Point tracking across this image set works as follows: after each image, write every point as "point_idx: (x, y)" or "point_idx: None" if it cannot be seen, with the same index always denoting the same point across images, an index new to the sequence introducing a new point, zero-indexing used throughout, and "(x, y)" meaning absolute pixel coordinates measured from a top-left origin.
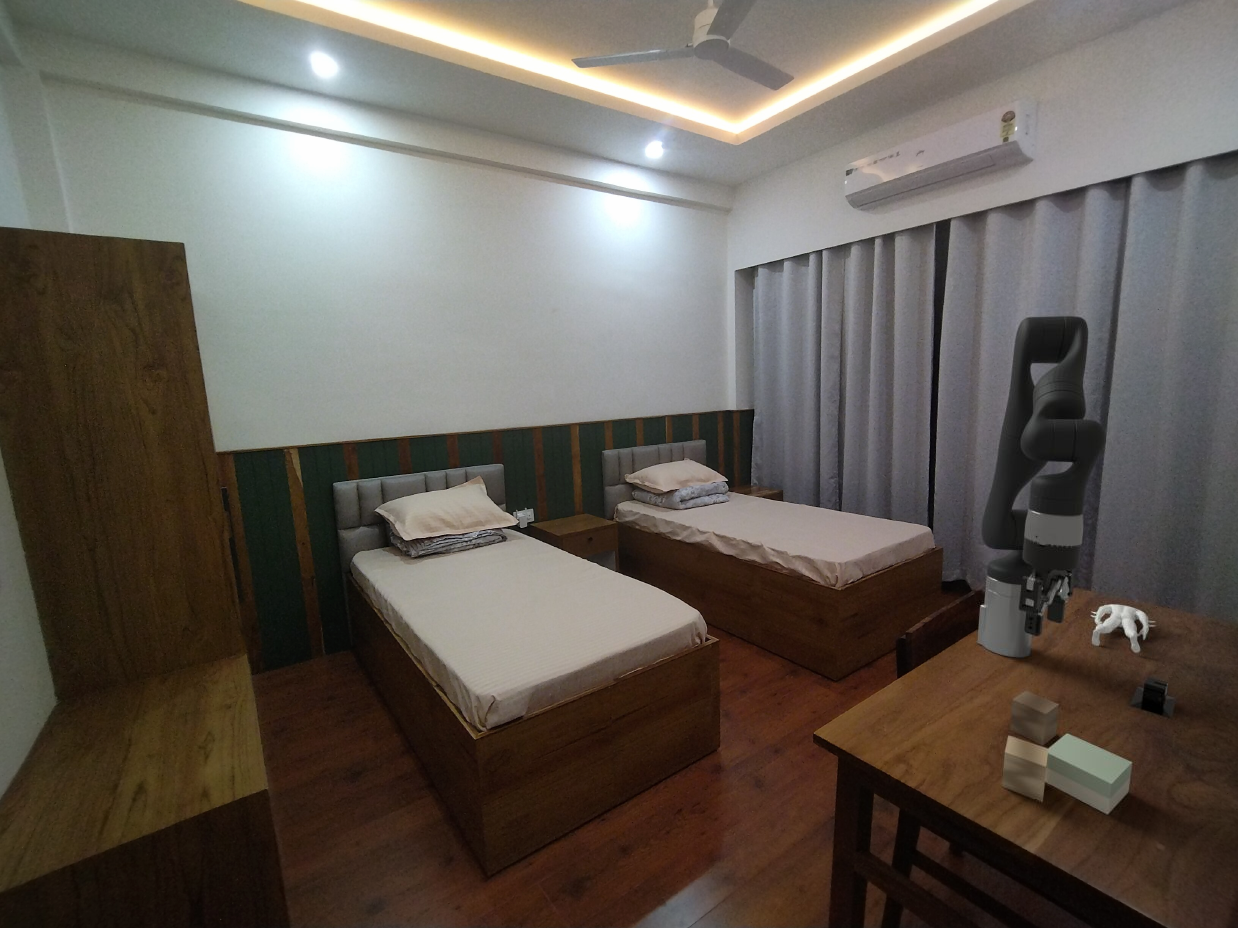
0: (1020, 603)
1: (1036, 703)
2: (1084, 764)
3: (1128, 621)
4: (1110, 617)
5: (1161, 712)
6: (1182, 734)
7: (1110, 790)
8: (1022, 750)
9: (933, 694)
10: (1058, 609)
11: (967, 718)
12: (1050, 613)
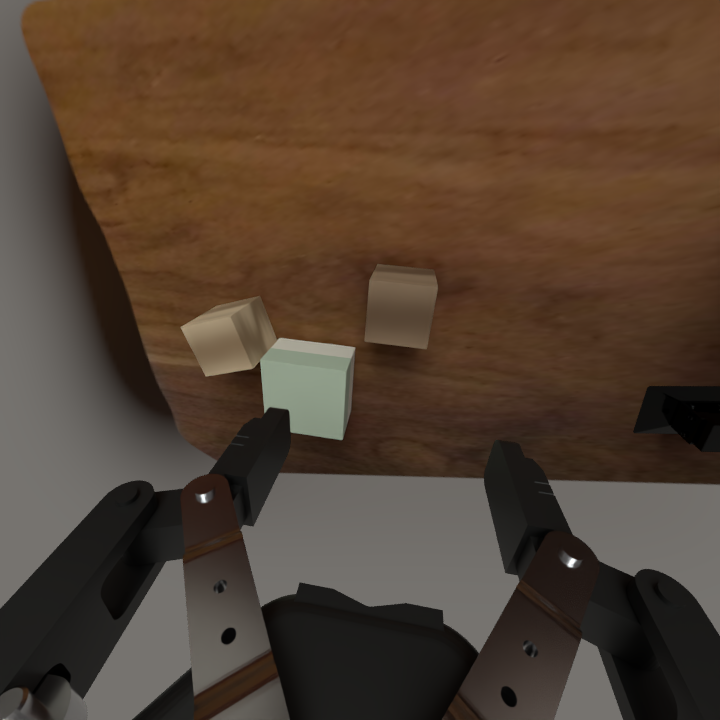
0: (81, 526)
1: (392, 319)
2: (279, 401)
3: None
4: None
5: (648, 422)
6: (578, 444)
7: None
8: (210, 344)
9: (387, 71)
10: (500, 522)
11: (348, 189)
12: (501, 470)
